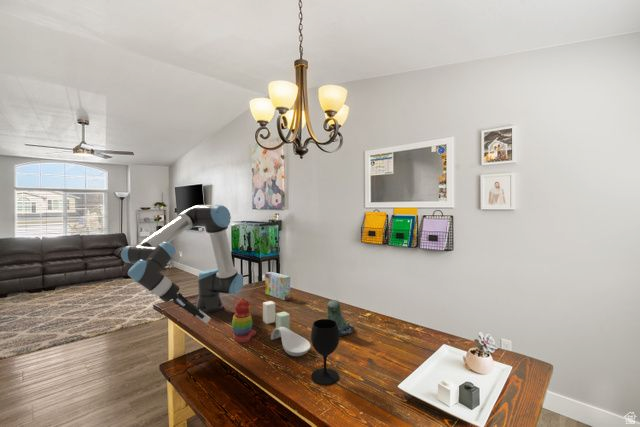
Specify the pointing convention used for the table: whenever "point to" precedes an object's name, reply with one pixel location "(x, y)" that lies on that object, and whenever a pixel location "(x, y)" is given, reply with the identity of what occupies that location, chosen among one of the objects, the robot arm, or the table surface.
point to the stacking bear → (242, 322)
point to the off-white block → (268, 312)
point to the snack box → (277, 285)
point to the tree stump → (338, 318)
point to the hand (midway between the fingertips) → (208, 320)
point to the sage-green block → (282, 320)
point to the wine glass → (325, 349)
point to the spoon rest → (291, 341)
